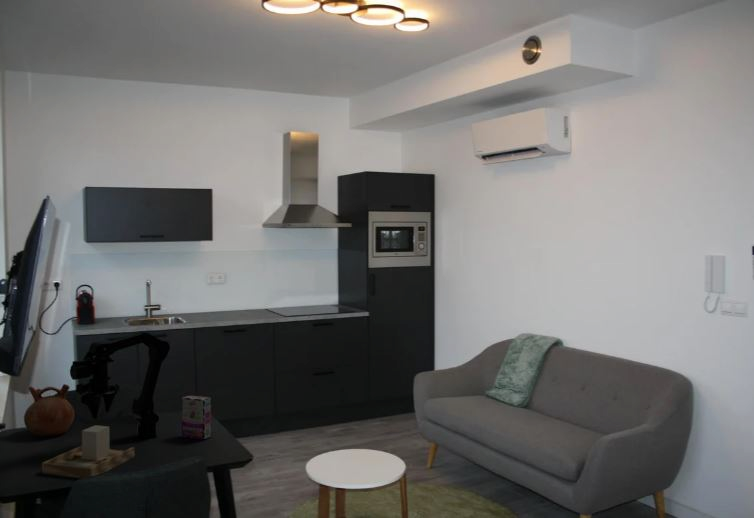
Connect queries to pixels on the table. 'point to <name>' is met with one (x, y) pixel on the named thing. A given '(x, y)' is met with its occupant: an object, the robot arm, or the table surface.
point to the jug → (49, 413)
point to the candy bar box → (196, 417)
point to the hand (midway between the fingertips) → (101, 415)
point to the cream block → (95, 442)
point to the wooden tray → (85, 463)
